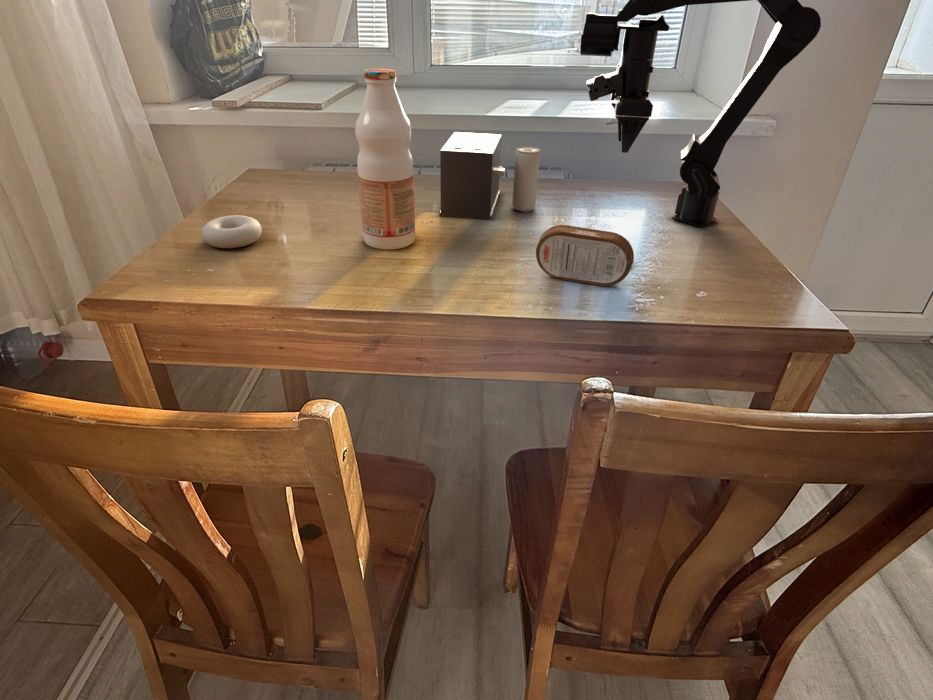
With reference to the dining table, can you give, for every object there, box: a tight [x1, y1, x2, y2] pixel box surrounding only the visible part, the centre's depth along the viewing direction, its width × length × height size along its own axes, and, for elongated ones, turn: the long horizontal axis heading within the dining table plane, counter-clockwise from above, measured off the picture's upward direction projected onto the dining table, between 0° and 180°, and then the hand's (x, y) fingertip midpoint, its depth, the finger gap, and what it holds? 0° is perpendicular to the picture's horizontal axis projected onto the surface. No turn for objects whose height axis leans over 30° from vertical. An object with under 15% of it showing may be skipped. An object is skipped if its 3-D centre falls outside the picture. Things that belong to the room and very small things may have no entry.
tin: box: [535, 224, 635, 287], centre depth 90 cm, size 15×3×8 cm, turn 71°
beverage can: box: [511, 146, 541, 212], centre depth 118 cm, size 5×5×12 cm
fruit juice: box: [354, 67, 416, 250], centre depth 97 cm, size 9×9×28 cm
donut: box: [201, 214, 263, 249], centre depth 103 cm, size 10×4×10 cm
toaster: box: [438, 131, 506, 221], centre depth 119 cm, size 12×16×13 cm
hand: (622, 146), depth 114 cm, fingers open, 9 cm apart
